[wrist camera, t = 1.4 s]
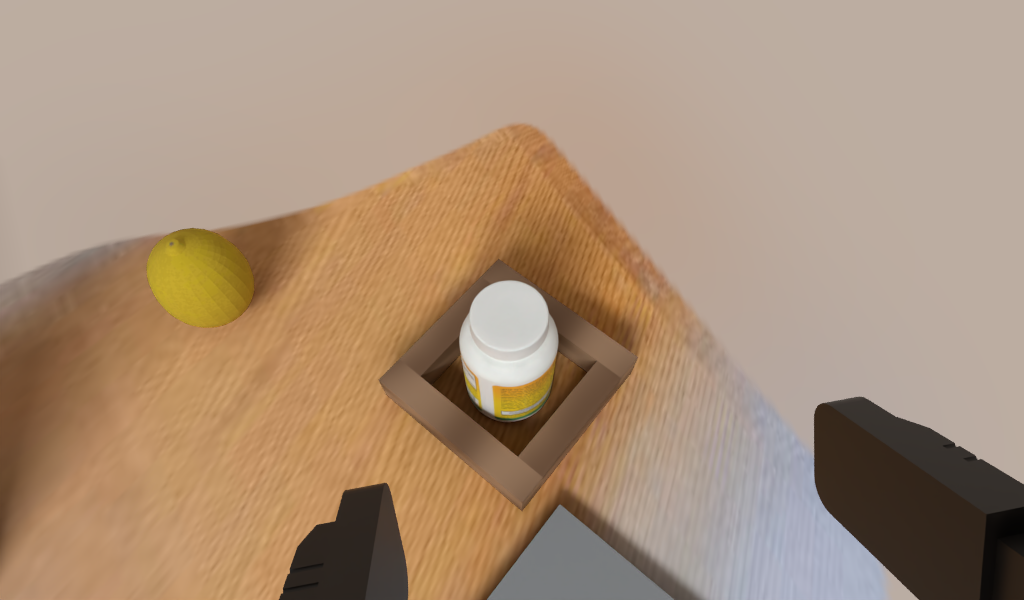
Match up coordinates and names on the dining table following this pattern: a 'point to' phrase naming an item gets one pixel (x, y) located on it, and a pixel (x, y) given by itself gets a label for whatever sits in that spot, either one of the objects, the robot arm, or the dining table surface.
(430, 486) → the dining table surface
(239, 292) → the lemon
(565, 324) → the walnut holder
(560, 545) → the slate board
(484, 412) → the supplement bottle
